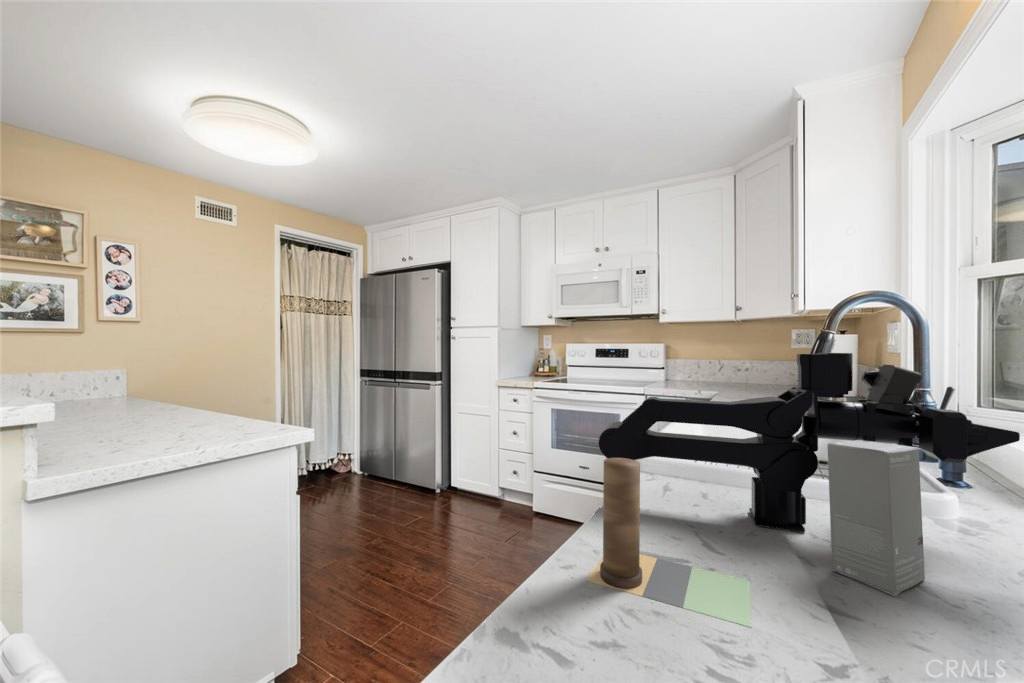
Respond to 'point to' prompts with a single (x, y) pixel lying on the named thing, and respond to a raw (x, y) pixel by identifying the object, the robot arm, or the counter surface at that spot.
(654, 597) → the striped board
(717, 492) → the counter surface
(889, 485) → the skincare box
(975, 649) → the counter surface
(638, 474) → the walnut peg
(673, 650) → the counter surface
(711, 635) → the counter surface
